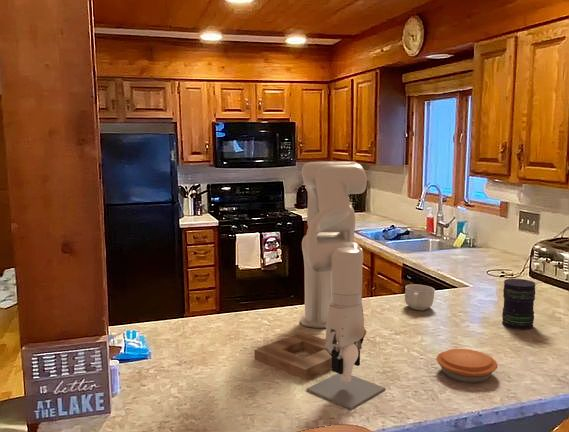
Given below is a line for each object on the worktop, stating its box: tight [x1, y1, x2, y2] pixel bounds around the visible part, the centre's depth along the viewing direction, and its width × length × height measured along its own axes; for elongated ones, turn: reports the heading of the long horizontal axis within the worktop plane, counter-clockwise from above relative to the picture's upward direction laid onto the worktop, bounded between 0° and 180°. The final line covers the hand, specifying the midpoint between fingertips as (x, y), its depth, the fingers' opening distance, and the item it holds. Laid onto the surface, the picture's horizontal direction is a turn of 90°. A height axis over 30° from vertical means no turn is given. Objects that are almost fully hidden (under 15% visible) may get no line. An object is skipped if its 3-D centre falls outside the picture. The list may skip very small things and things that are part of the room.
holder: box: [253, 331, 332, 381], centre depth 151 cm, size 20×20×3 cm
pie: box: [436, 348, 499, 384], centre depth 140 cm, size 15×16×5 cm
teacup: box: [404, 283, 436, 311], centre depth 196 cm, size 14×11×8 cm
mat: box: [306, 373, 386, 410], centre depth 131 cm, size 14×14×1 cm
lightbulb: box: [336, 343, 358, 383], centre depth 131 cm, size 6×6×11 cm
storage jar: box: [501, 278, 536, 331], centre depth 177 cm, size 10×10×15 cm
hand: (345, 367), depth 131 cm, fingers closed on lightbulb, 6 cm apart
